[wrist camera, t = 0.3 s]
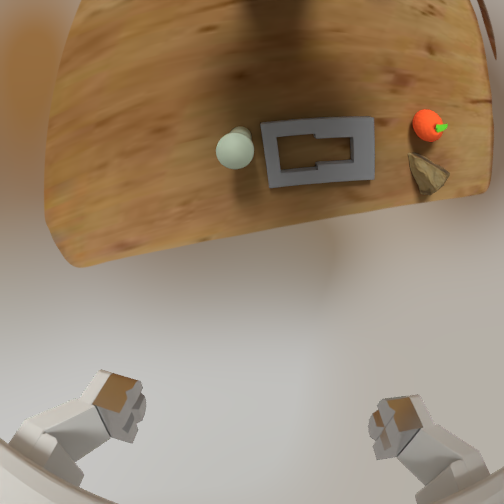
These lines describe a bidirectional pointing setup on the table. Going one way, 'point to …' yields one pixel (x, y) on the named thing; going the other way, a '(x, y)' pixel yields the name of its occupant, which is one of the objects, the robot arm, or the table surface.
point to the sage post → (235, 148)
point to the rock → (427, 174)
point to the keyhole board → (324, 171)
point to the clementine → (428, 125)
